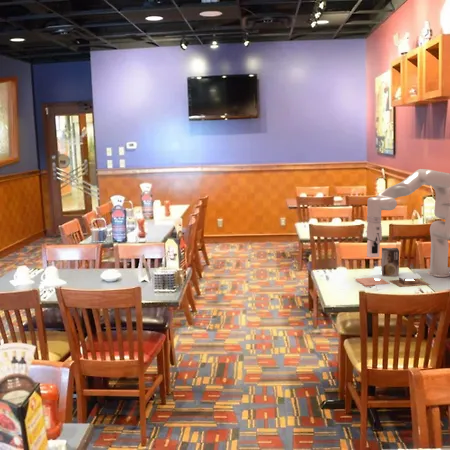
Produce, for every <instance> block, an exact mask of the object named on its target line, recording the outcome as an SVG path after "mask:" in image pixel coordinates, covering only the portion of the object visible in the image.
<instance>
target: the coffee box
mask: <svg viewBox="0 0 450 450" xmlns="http://www.w3.org/2000/svg"><path fill="white" fill-rule="evenodd" d="M381 271H382V275H381V276H383V277H399V276H400V249H399V248H398V247H381Z"/></svg>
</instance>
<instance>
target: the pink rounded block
mask: <svg viewBox="0 0 450 450" xmlns="http://www.w3.org/2000/svg"><path fill="white" fill-rule="evenodd" d="M366 241H367V242H366V257H367V258H380V251H381V250H380V247H381V245H380V244H381V242H380V243H379V244H378V253H372V246H373V241H372V240H368V239H367V240H366ZM375 241H376V240H375ZM374 243H375V242H374Z"/></svg>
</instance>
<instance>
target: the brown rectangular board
mask: <svg viewBox="0 0 450 450" xmlns="http://www.w3.org/2000/svg"><path fill="white" fill-rule="evenodd" d="M405 279H406V278H401V277H398V279H394V280H393V279H391V280H388V283H391V284H393V285H395V286H397V287H399V288H410V287H419V286H420V287H421V286H431V284H430V283H428V282H426V281H424V280H422V279H419V278H418V277H417V278H414V280H415V281H405Z"/></svg>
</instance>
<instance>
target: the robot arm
mask: <svg viewBox="0 0 450 450" xmlns="http://www.w3.org/2000/svg"><path fill="white" fill-rule="evenodd" d="M424 185H425V186H431V187H432V188H433V190H434V193H435V200H434V202H435V203H434V212H433V213H434V216H435V217H436V218H438V219H440V220H435V221H433V222H432V223H431V224H430V227H429V233H430V235H429V236H430V261H429V262H430V264H429V265H430V267H429V270H428V271H426V274H427V275H429V276H433V277H435V278H448V277H450V266H449V267H448V265H449V262H448V261H449V241H450V173H449V172H443V171H439V170H438V171H437V170H434V169H425V168H419V169H417V170H414V172H413V173H411V174H410V175H409V176H407V177H406V178H405V179H403V180H402V181H401V182H399V183H396V184H394V185H391V186H389V187H387V188H385V189H384V190H381V192H380V193H378V194H377V195H376V196H372V197H369V198H367V203H366V204H367V208H366V209H367V210H366V213H367V215H366V223H367V225H366V238H367V240H372V241H373V246H372V253H378V244H379V243H380V244H381V241H382V240H383V234H382V233H383V232H382V228H383V227H382V211H393V210H394V209H396V207H397V205H398V202H397V200H396V199H397V198H400V197H406V196H409V195H411V194H413V193H414V192H415V191H417V190H418V189H420V188H421V187H422V186H424ZM443 220H445V221H443ZM375 240H376V241H375ZM374 242H375V243H374Z"/></svg>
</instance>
